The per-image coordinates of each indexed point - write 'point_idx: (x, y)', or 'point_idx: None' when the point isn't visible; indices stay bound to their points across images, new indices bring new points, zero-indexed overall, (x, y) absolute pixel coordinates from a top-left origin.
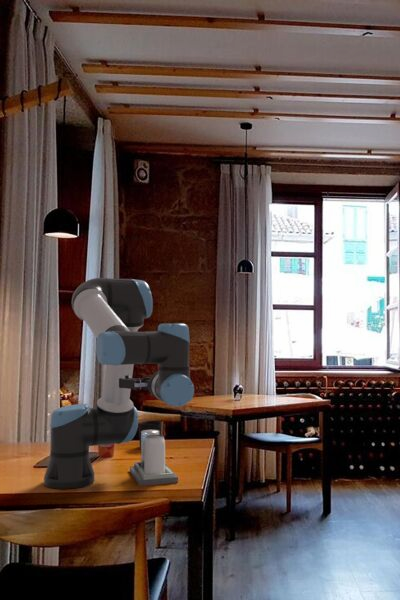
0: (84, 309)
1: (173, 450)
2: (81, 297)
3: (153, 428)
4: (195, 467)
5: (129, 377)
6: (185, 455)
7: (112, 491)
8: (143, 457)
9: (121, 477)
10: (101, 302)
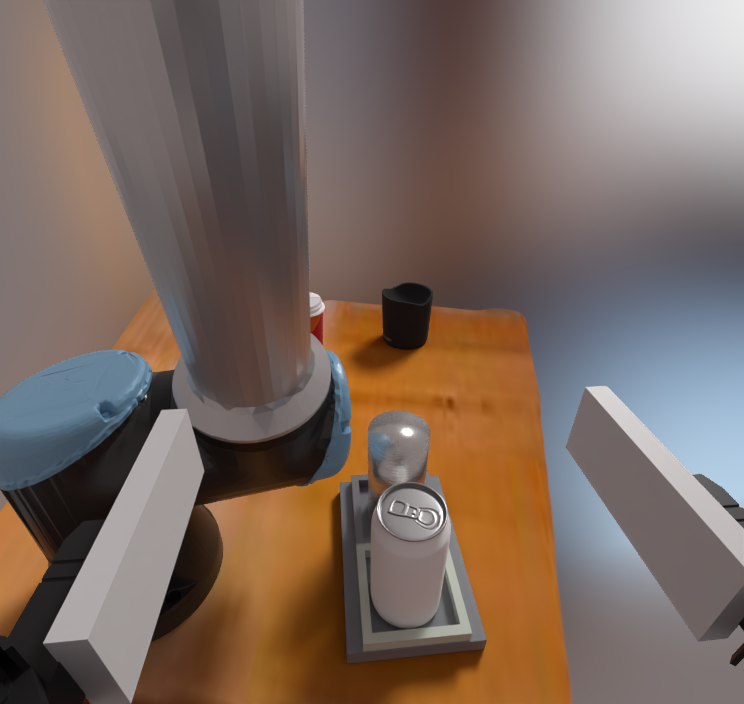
0: None
1: (453, 360)
2: None
3: (413, 310)
4: (521, 489)
5: (54, 641)
6: (483, 394)
7: None
8: (373, 501)
9: (307, 546)
10: None
